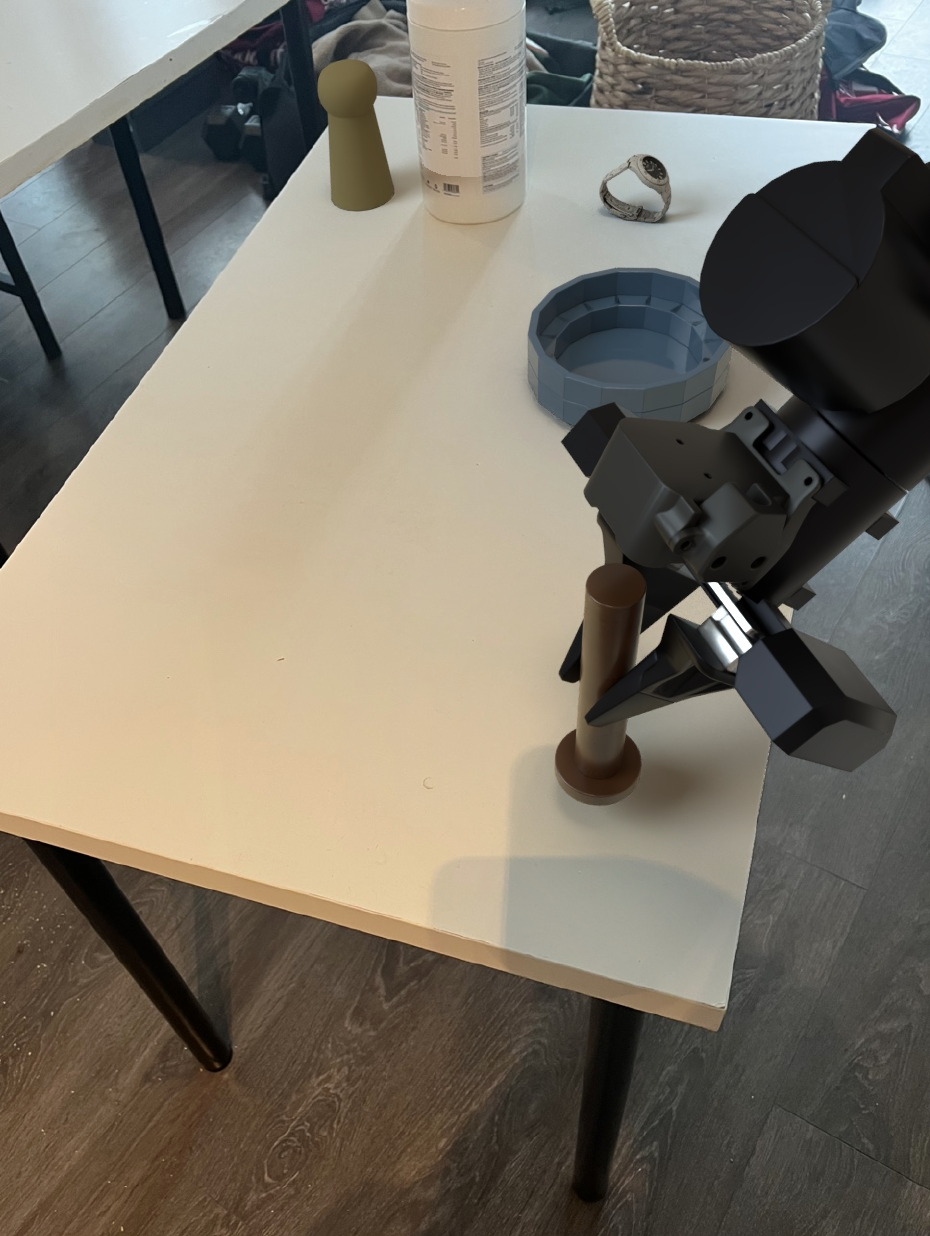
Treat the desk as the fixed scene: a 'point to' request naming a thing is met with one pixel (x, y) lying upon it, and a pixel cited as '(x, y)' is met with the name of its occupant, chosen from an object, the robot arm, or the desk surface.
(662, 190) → the wristwatch
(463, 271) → the desk surface
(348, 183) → the olive pawn
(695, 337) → the bowl
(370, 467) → the desk surface
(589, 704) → the brown cylinder with base
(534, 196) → the desk surface
